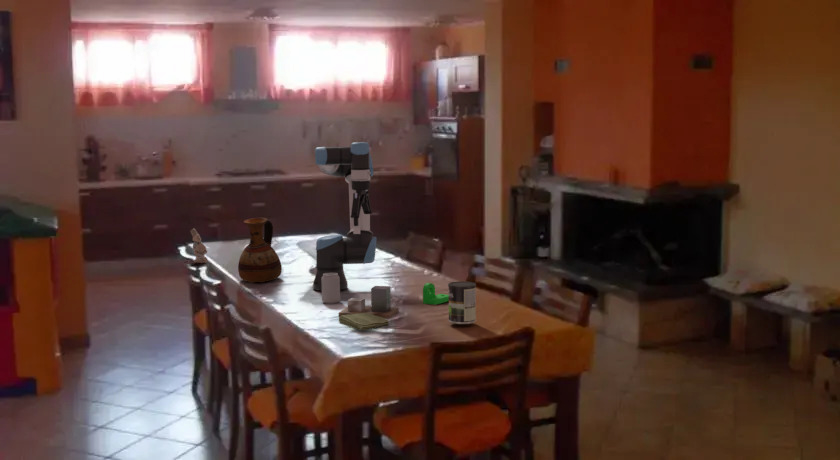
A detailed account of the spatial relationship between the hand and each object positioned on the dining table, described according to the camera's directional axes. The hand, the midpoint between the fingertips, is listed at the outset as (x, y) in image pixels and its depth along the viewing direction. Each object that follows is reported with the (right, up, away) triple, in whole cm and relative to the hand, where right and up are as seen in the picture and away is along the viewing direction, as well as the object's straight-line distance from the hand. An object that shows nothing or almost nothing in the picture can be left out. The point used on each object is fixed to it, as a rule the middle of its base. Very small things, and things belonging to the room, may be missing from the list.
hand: (361, 231), depth 386 cm
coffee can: (+40, -33, -38) cm, 64 cm away
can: (-13, -29, +1) cm, 32 cm away
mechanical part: (+31, -29, 0) cm, 43 cm away
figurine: (-89, -18, +96) cm, 132 cm away
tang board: (+4, -32, -23) cm, 39 cm away
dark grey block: (+9, -30, -24) cm, 40 cm away
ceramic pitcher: (-51, -23, +52) cm, 76 cm away
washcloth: (+3, -35, -40) cm, 53 cm away
